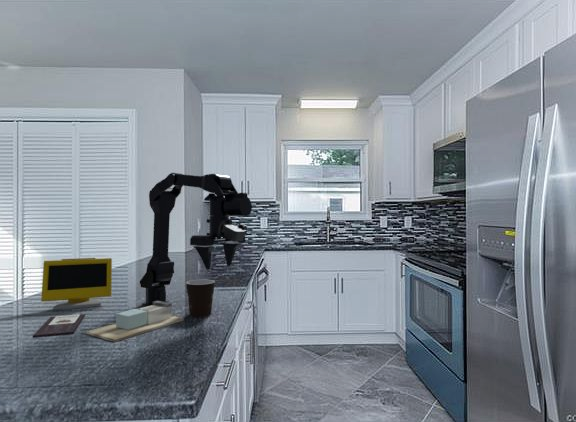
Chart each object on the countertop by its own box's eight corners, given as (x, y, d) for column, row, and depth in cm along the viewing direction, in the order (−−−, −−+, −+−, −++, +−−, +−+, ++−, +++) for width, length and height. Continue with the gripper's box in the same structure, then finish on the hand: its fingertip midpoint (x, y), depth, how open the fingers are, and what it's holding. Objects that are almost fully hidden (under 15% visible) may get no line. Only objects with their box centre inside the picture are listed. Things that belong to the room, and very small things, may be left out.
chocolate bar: (32, 335, 94) (50, 316, 111) (32, 339, 94) (50, 320, 111) (73, 331, 98) (85, 314, 114) (73, 335, 98) (85, 317, 114)
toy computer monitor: (41, 311, 119) (41, 261, 119) (45, 306, 126) (45, 258, 126) (111, 305, 127) (111, 258, 127) (111, 300, 134) (111, 256, 134)
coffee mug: (207, 319, 111) (208, 285, 111) (180, 317, 113) (180, 283, 113) (222, 309, 123) (222, 278, 123) (197, 308, 124) (197, 277, 124)
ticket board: (85, 333, 98) (86, 314, 98) (155, 314, 116) (155, 298, 116) (114, 342, 91) (114, 321, 91) (183, 320, 110) (183, 303, 110)
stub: (115, 326, 101) (116, 313, 101) (135, 321, 106) (135, 308, 106) (127, 329, 98) (127, 316, 98) (147, 324, 103) (147, 311, 104)
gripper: (218, 216, 102) (218, 274, 102) (259, 216, 118) (258, 266, 118) (188, 216, 108) (188, 270, 108) (231, 215, 124) (231, 263, 124)
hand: (218, 267), depth 114 cm, fingers open, 9 cm apart
